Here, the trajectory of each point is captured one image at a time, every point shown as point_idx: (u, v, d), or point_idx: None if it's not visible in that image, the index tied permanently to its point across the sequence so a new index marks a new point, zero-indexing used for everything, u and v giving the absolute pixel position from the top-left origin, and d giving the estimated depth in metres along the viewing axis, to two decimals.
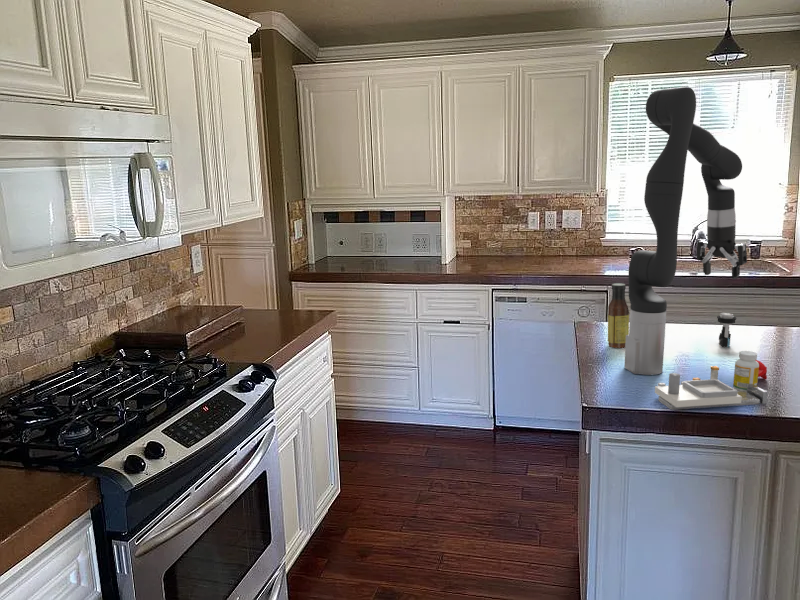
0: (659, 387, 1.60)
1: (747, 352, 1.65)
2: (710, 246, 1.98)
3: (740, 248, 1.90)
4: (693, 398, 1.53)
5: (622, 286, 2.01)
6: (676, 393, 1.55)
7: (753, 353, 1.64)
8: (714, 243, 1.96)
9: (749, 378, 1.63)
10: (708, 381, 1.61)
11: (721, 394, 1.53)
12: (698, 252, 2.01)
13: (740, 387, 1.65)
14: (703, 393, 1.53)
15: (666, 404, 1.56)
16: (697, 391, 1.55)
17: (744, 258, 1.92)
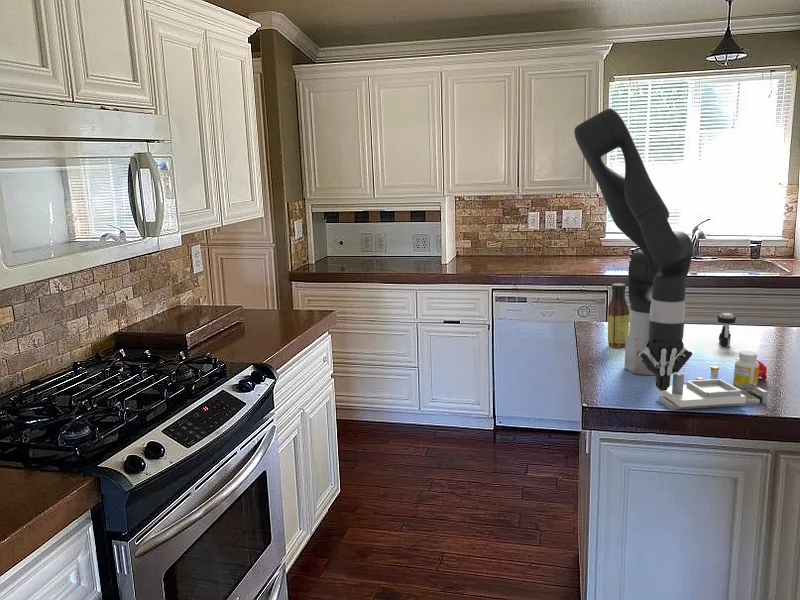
0: None
1: (747, 352, 1.65)
2: None
3: None
4: (697, 397, 1.53)
5: (622, 286, 2.01)
6: (680, 393, 1.55)
7: (753, 353, 1.64)
8: None
9: (749, 378, 1.63)
10: (712, 381, 1.61)
11: (725, 394, 1.53)
12: None
13: (740, 387, 1.65)
14: (707, 393, 1.53)
15: (666, 404, 1.56)
16: (701, 391, 1.55)
17: None
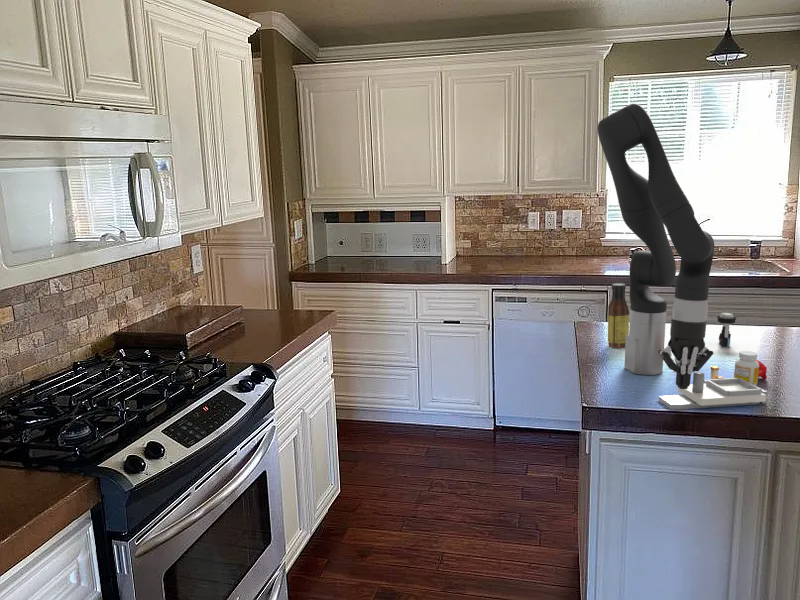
0: None
1: (747, 352, 1.65)
2: None
3: None
4: (718, 396, 1.53)
5: (622, 286, 2.01)
6: (700, 392, 1.56)
7: (753, 353, 1.64)
8: None
9: (749, 378, 1.63)
10: (731, 380, 1.62)
11: (745, 392, 1.54)
12: None
13: None
14: (728, 391, 1.54)
15: (666, 404, 1.56)
16: (721, 390, 1.55)
17: None
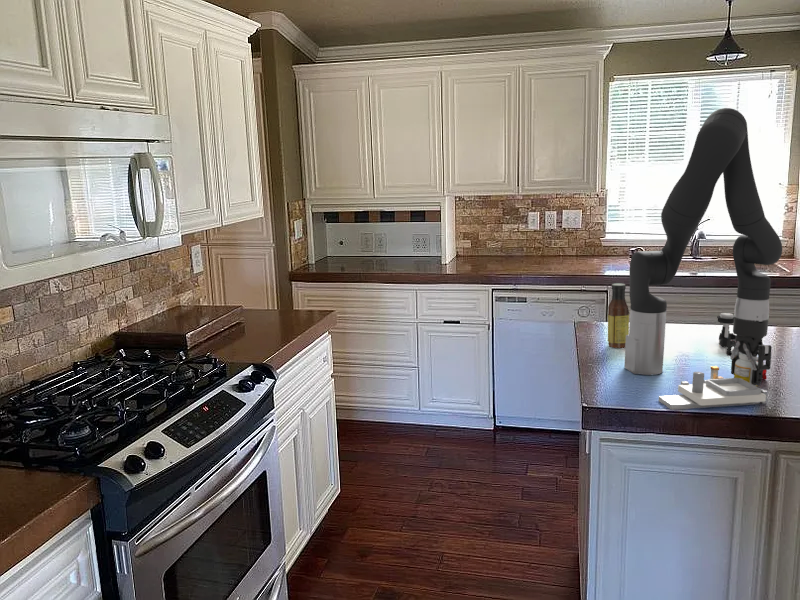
0: (682, 386, 1.61)
1: None
2: (738, 340, 1.66)
3: (760, 349, 1.57)
4: (718, 396, 1.53)
5: (622, 286, 2.01)
6: (700, 392, 1.56)
7: None
8: (741, 338, 1.65)
9: (749, 378, 1.63)
10: (731, 380, 1.62)
11: (745, 392, 1.54)
12: (728, 345, 1.70)
13: None
14: (727, 391, 1.54)
15: (666, 404, 1.56)
16: (721, 390, 1.55)
17: (767, 363, 1.58)
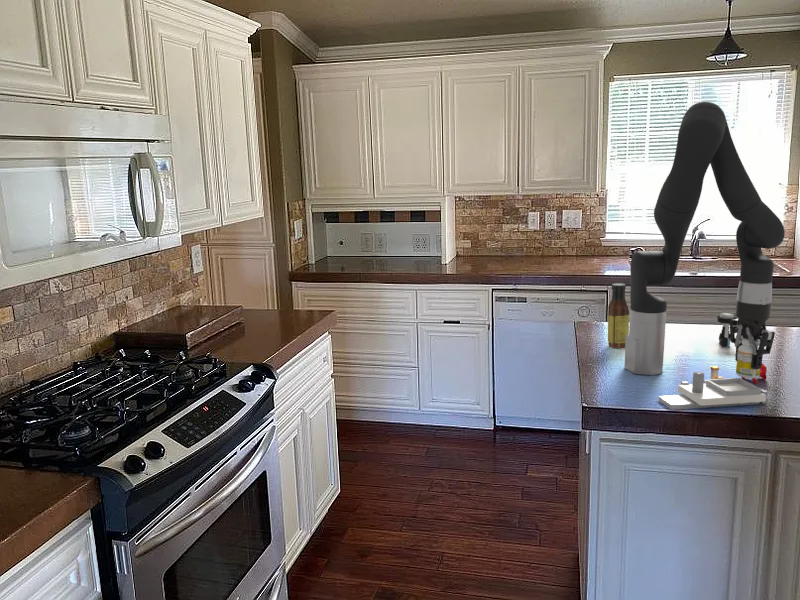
0: (682, 386, 1.61)
1: None
2: (740, 324, 1.66)
3: (764, 336, 1.58)
4: (718, 396, 1.53)
5: (622, 286, 2.01)
6: (700, 392, 1.56)
7: None
8: (743, 321, 1.65)
9: None
10: (731, 380, 1.62)
11: (745, 392, 1.54)
12: (731, 332, 1.70)
13: (743, 373, 1.65)
14: (727, 391, 1.54)
15: (666, 404, 1.56)
16: (721, 390, 1.55)
17: (768, 348, 1.60)
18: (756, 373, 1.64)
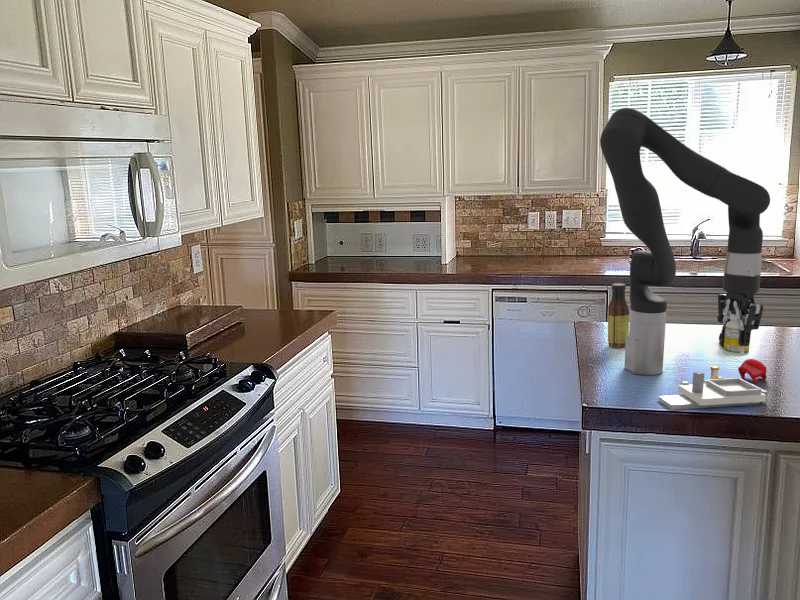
0: (682, 386, 1.61)
1: None
2: (728, 298, 1.56)
3: (751, 309, 1.48)
4: (718, 396, 1.53)
5: (622, 286, 2.01)
6: (700, 392, 1.56)
7: None
8: (731, 295, 1.55)
9: None
10: (731, 380, 1.62)
11: (745, 392, 1.54)
12: (719, 308, 1.60)
13: (731, 350, 1.54)
14: (727, 391, 1.54)
15: (666, 404, 1.56)
16: (721, 390, 1.55)
17: (756, 323, 1.49)
18: (744, 351, 1.54)
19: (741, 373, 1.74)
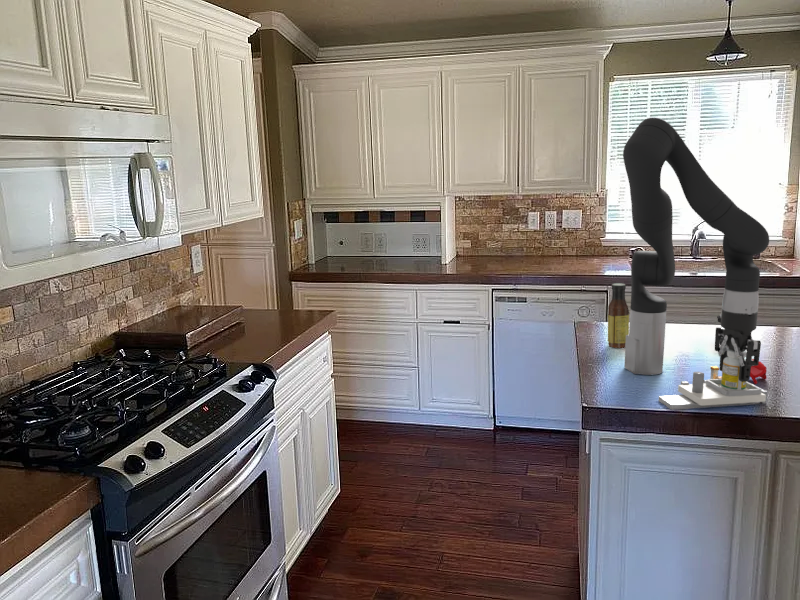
0: (682, 386, 1.61)
1: None
2: (726, 334, 1.58)
3: (749, 345, 1.49)
4: (718, 396, 1.53)
5: (622, 286, 2.01)
6: (700, 392, 1.56)
7: None
8: (729, 331, 1.57)
9: (738, 377, 1.55)
10: None
11: (745, 392, 1.54)
12: (716, 341, 1.62)
13: (728, 386, 1.56)
14: (727, 391, 1.54)
15: (666, 404, 1.56)
16: (721, 390, 1.55)
17: (755, 359, 1.50)
18: (741, 387, 1.55)
19: None
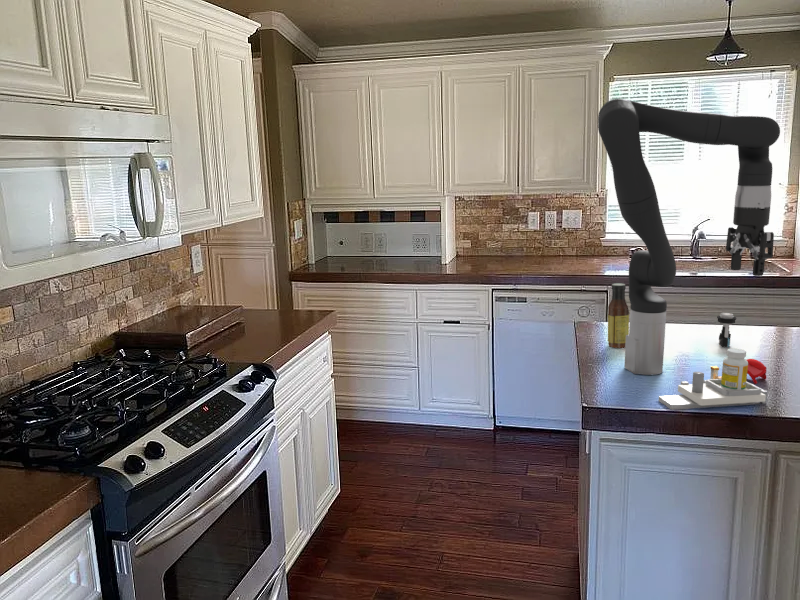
0: (682, 386, 1.61)
1: (735, 349, 1.57)
2: (738, 233, 1.60)
3: (762, 236, 1.51)
4: (718, 396, 1.53)
5: (622, 286, 2.01)
6: (700, 392, 1.56)
7: (742, 350, 1.56)
8: (742, 229, 1.58)
9: (738, 377, 1.55)
10: None
11: (745, 392, 1.54)
12: (727, 240, 1.64)
13: (728, 386, 1.56)
14: (727, 391, 1.54)
15: (666, 404, 1.56)
16: (721, 390, 1.55)
17: (769, 251, 1.51)
18: (741, 387, 1.55)
19: None
